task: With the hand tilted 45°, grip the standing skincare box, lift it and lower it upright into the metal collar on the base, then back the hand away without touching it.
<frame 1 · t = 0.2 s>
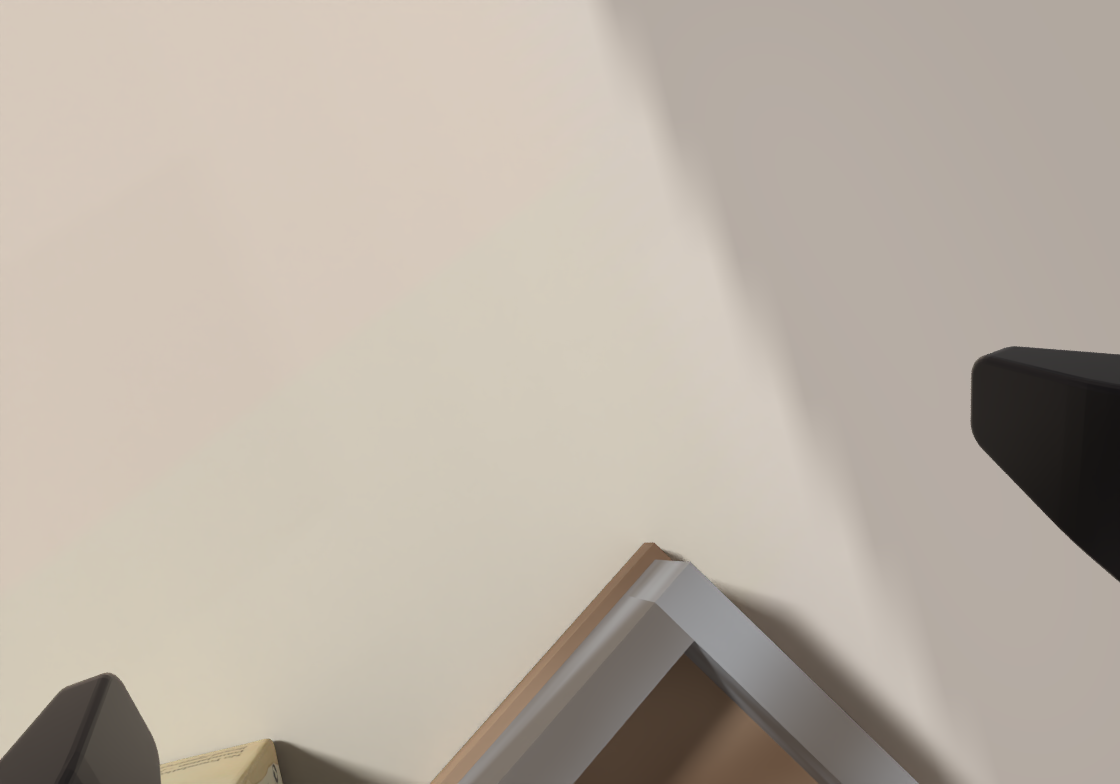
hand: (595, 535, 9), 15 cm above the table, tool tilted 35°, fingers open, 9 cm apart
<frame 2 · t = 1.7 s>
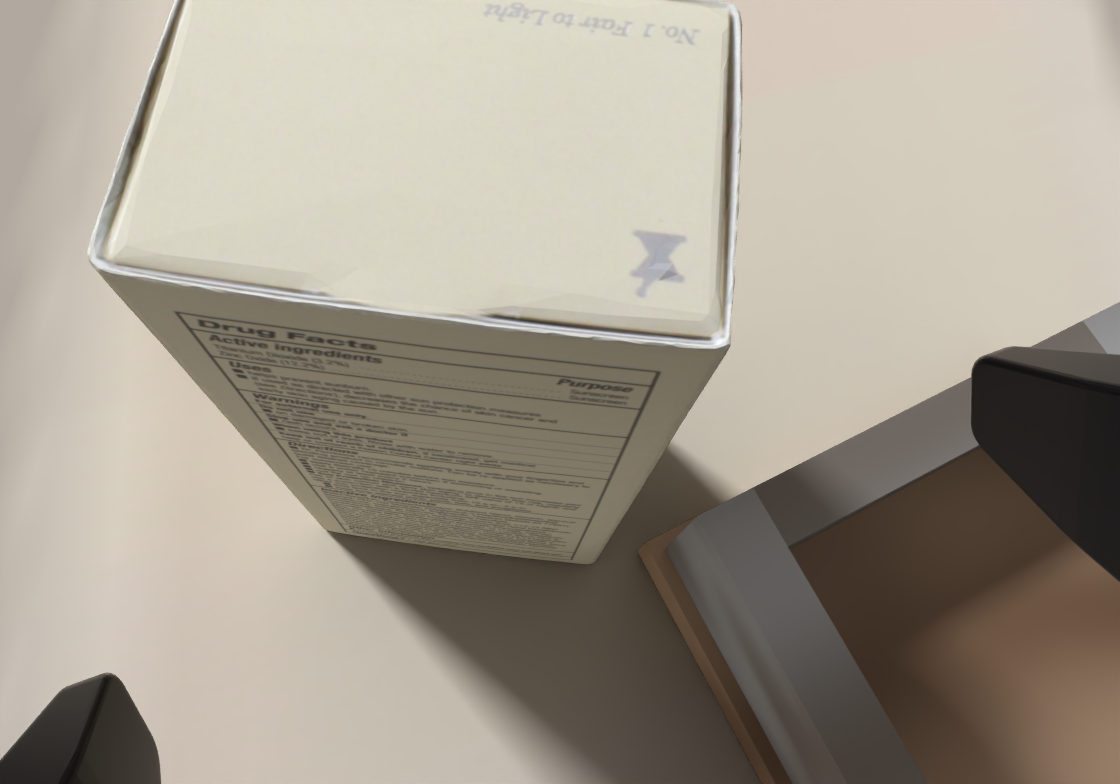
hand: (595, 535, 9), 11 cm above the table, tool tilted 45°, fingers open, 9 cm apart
skincare box: (466, 463, 21), on the table
socket: (977, 666, 20), on the table
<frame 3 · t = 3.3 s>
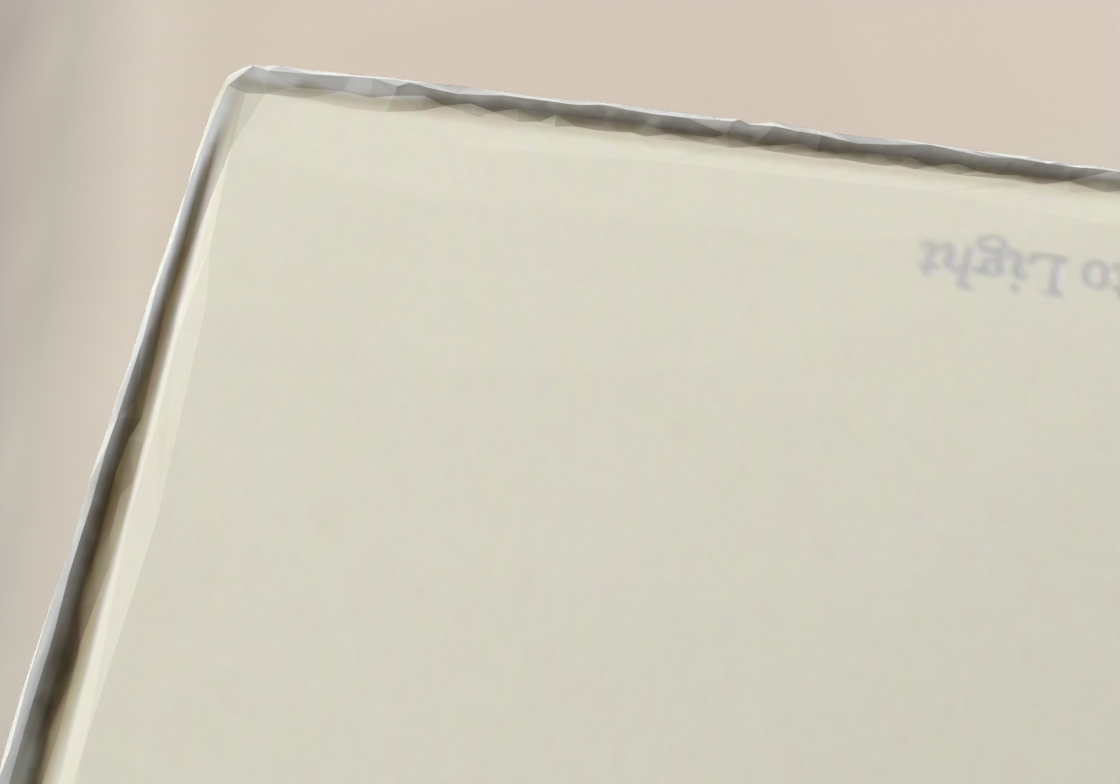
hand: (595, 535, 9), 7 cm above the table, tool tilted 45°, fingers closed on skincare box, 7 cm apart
skincare box: (575, 699, 15), on the table, touching gripper
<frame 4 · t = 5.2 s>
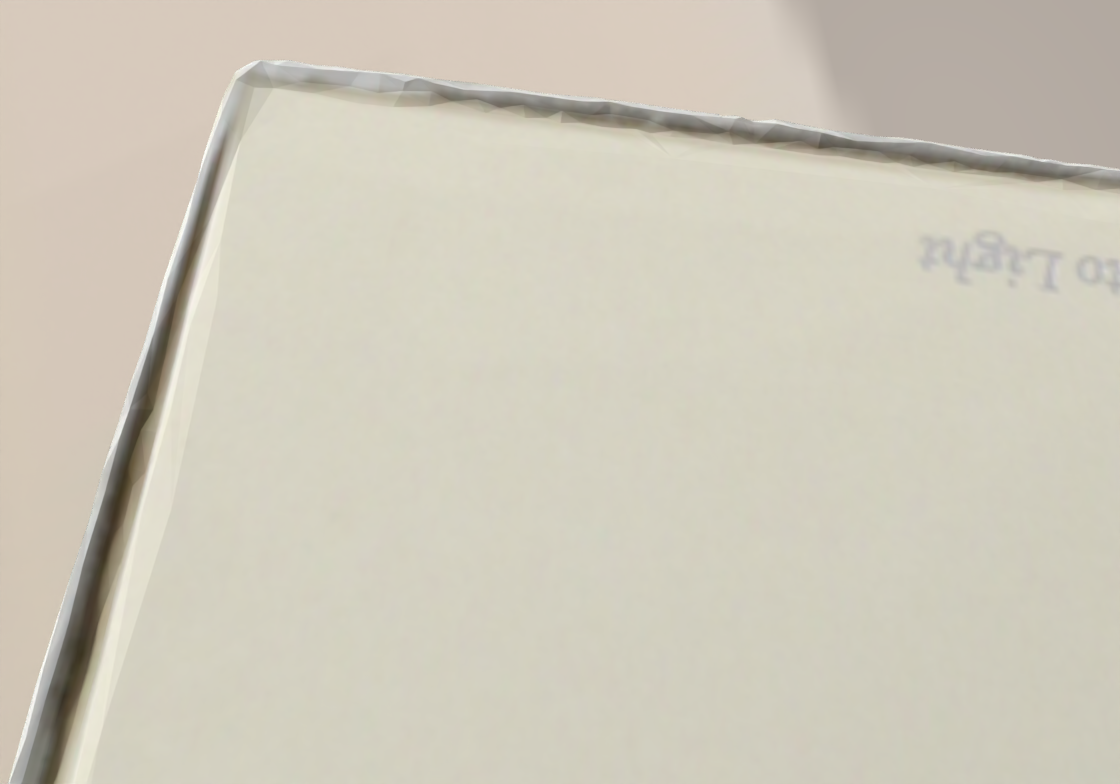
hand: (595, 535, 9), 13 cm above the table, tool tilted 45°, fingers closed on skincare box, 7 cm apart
skincare box: (563, 699, 15), point 6 cm above the table, touching gripper
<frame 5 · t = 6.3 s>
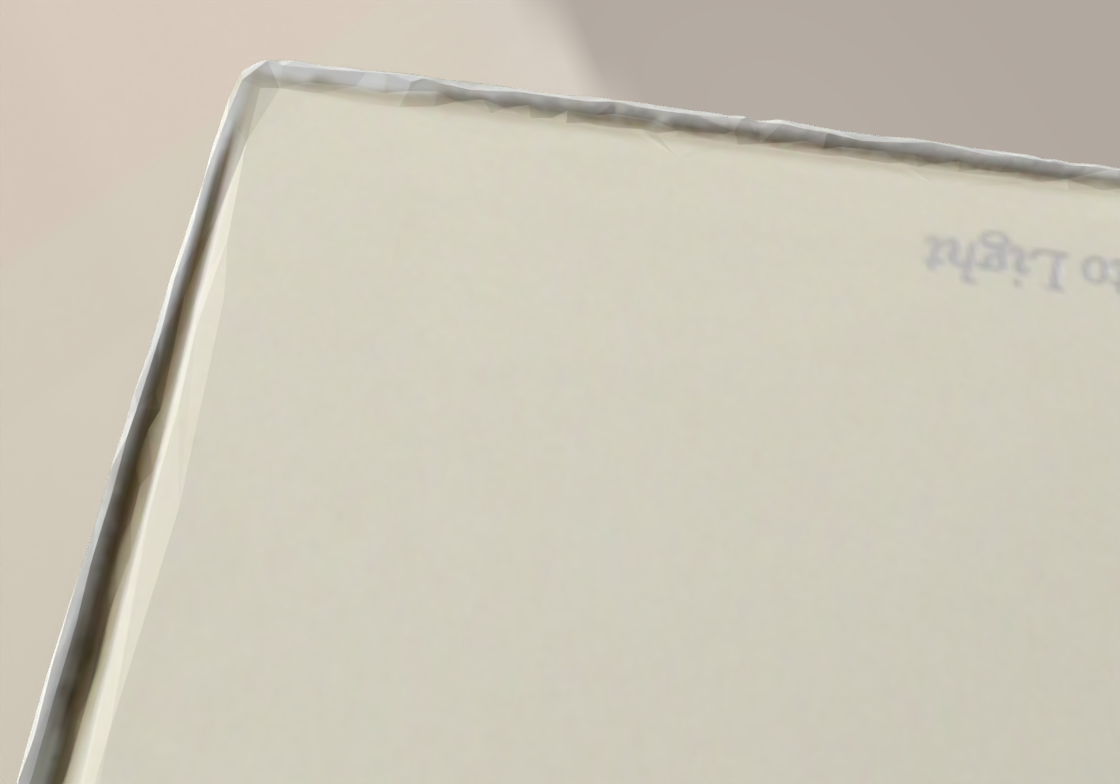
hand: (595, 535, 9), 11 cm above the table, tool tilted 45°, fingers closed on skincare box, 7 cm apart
skincare box: (565, 698, 15), point 4 cm above the table, touching gripper
when the fingers open (9 cm above the table, at t = 7.2 s): skincare box drops 1 cm, resting on socket.
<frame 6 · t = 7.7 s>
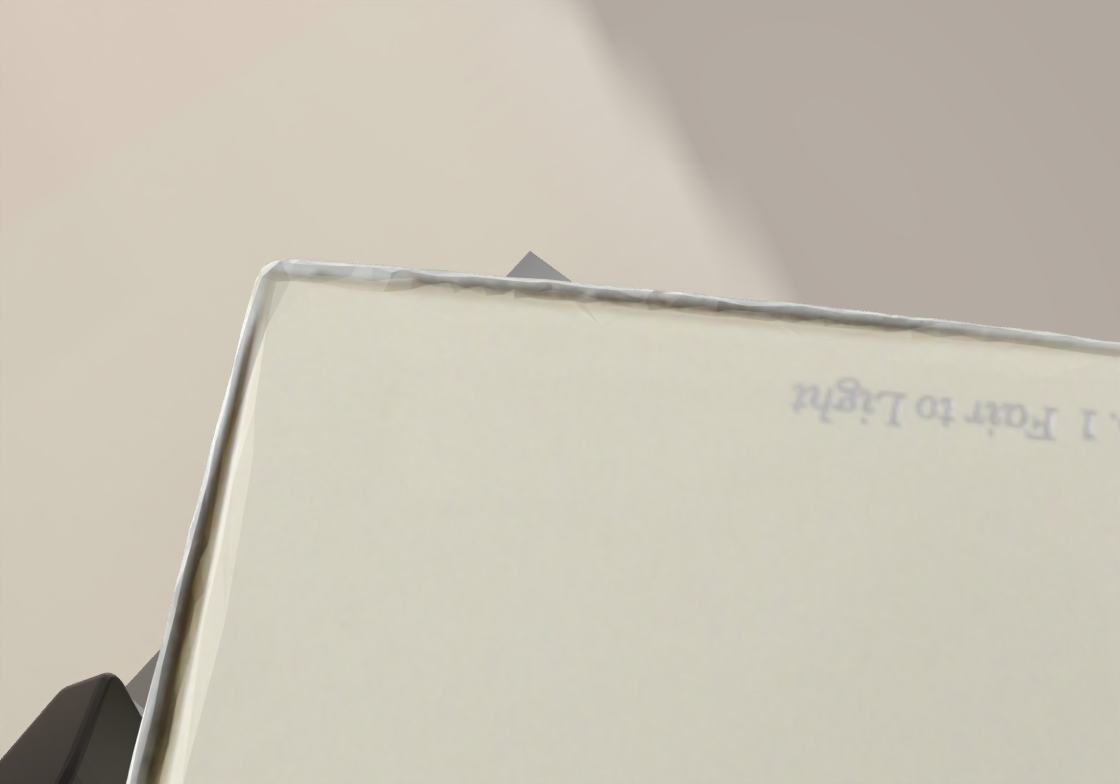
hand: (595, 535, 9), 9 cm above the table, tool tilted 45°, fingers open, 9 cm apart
skincare box: (562, 713, 16), point 1 cm above the table, touching socket
socket: (562, 701, 17), on the table
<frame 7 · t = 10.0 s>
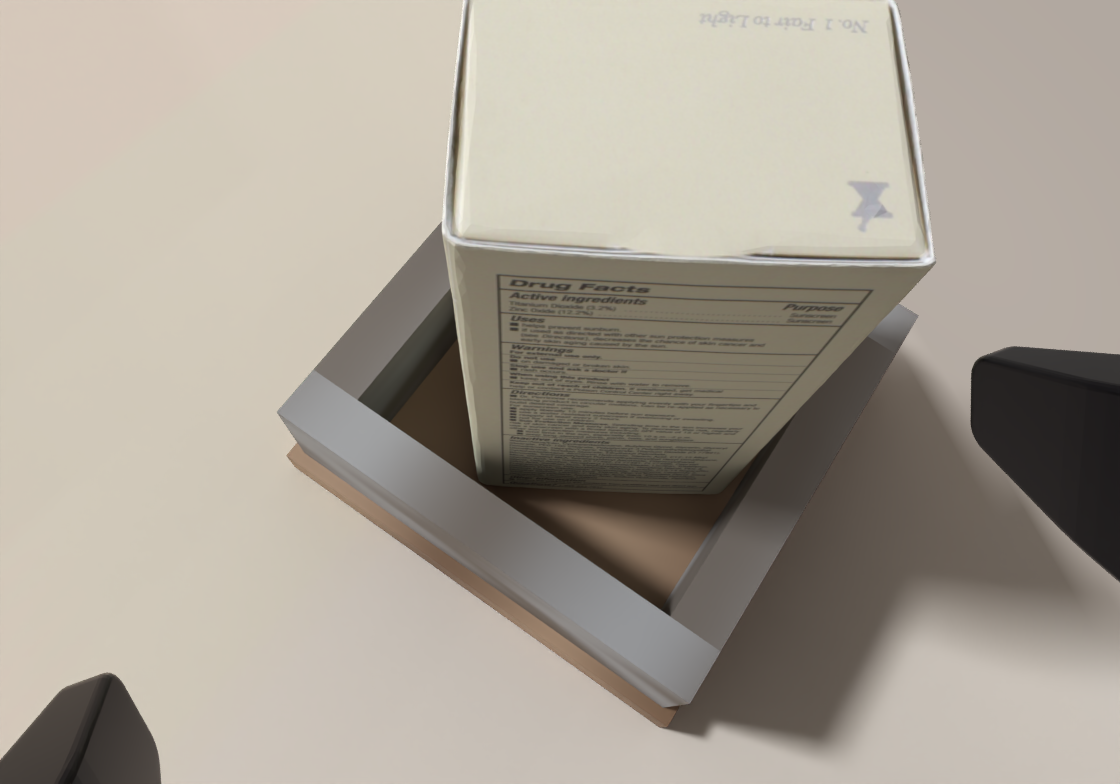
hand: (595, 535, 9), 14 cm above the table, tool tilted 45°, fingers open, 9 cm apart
skincare box: (595, 417, 23), point 1 cm above the table, touching socket
socket: (594, 419, 24), on the table
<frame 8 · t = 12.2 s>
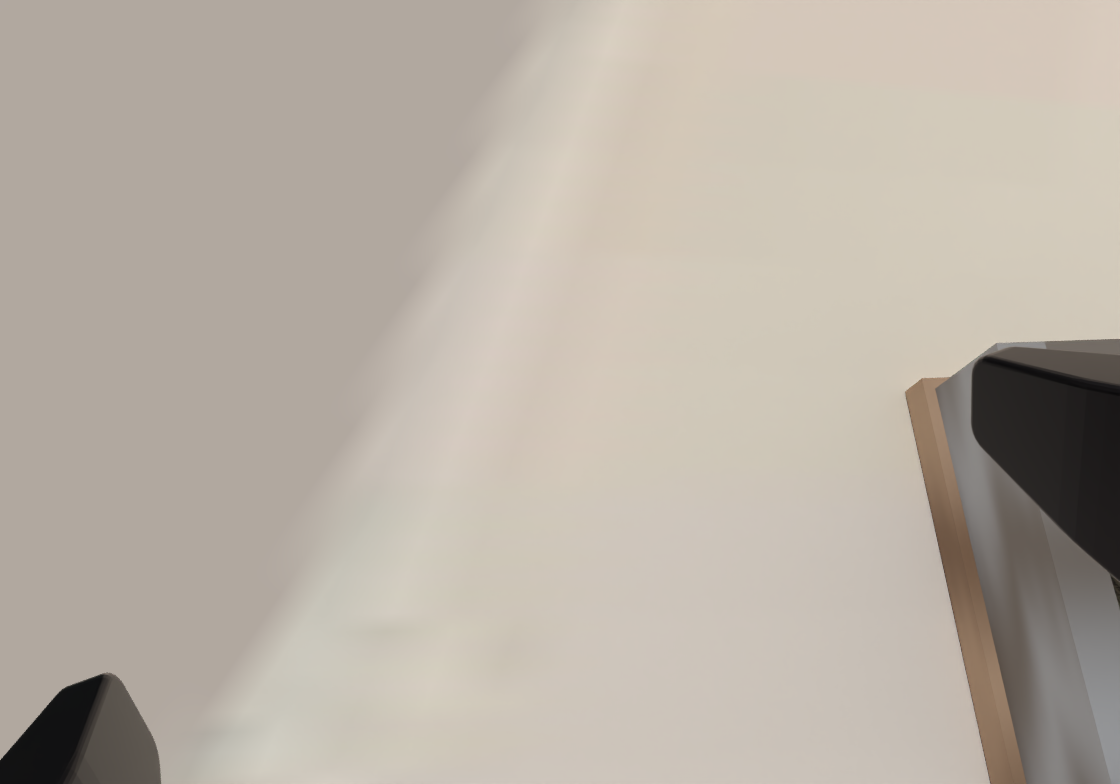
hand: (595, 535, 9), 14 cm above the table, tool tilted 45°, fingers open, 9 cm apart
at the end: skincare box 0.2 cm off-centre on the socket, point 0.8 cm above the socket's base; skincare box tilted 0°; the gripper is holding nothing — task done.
